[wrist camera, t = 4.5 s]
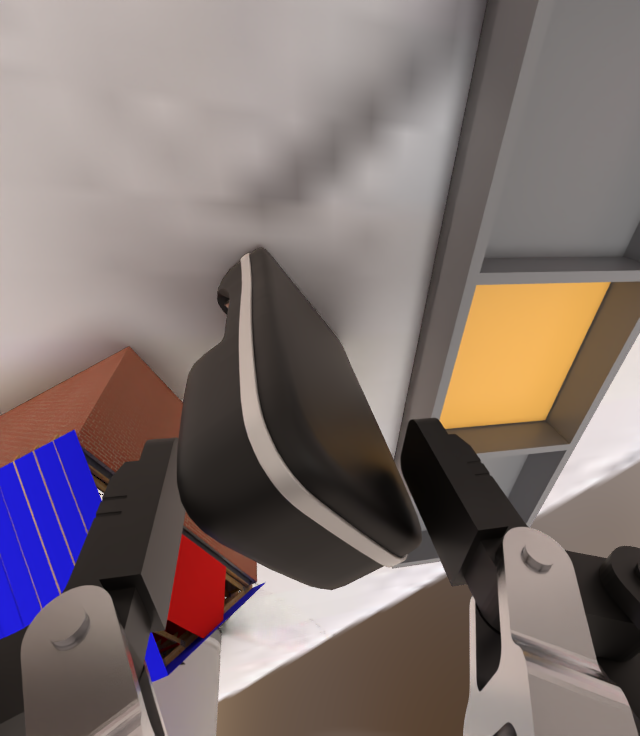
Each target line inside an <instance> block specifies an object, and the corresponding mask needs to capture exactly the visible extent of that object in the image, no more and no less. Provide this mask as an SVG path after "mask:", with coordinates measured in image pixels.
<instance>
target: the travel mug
mask: <svg viewBox="0 0 640 736" xmlns="http://www.w3.org/2000/svg"><path fill="white" fill-rule="evenodd" d="M221 636H222V634H221V631H220V629H219V628H218V629H217V630H216V631H214V632H213V633H212V634H211V635H210V636H209V637H208V638H207V639H206V640H205V641H204V642H203V643H202V644H201V645H200V646H199V647H198V648H197V649H196V650H195V651H194V652H193V653H191V654H190V655H189V656H188V657H187V658H186V659H185V660H184V661H183V662H182V663H181V664H180V665H179V666H178V667H177V668H176V669H175V670H174V671H173V672H172V673H171V674H170V675H168V676H166V677H164V678H161V679H159V680H157V681H154V682H152V684H153V687H154V691H155V694H156V697H157V701H158V704H159V708H160V711H161V714H162V718H163V721H164V724H165V728H166V731H167V734H168V736H216V725H217V708H218V707H217V706H218V690H219V672H220V652H221Z"/></svg>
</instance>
